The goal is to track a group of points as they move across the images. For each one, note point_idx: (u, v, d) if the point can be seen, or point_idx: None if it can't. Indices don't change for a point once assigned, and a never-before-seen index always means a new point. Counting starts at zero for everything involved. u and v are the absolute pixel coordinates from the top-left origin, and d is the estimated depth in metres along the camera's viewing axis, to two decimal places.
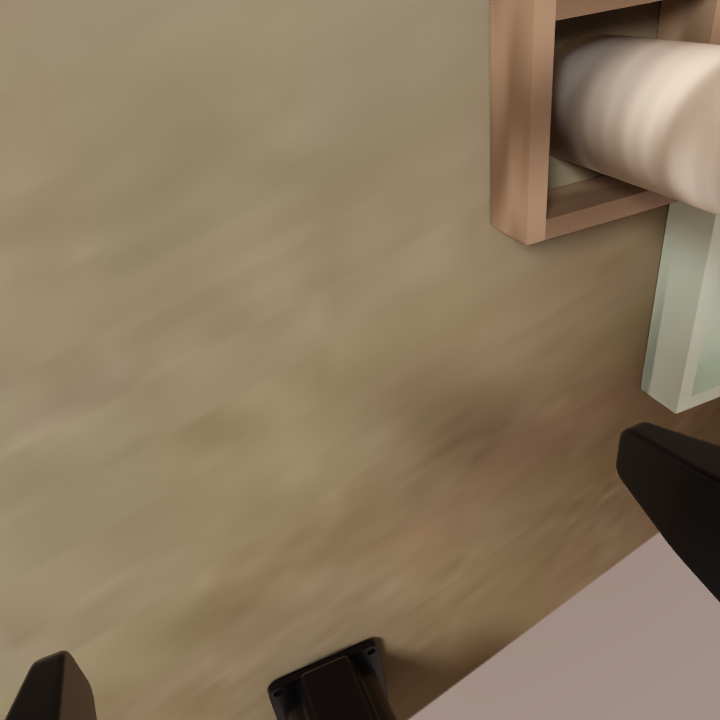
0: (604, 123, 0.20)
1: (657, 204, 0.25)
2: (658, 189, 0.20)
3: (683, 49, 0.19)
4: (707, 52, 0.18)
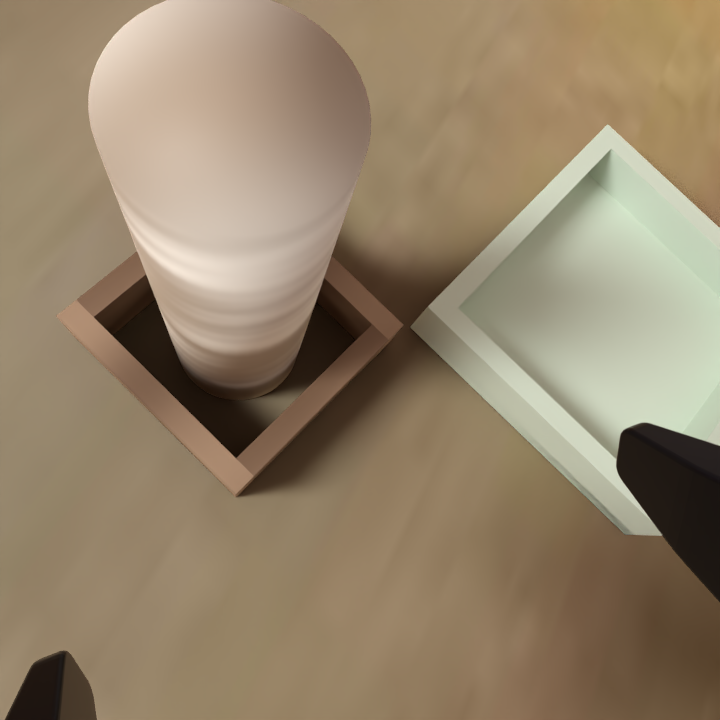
0: (179, 350, 0.19)
1: (360, 363, 0.22)
2: (235, 361, 0.17)
3: None
4: None
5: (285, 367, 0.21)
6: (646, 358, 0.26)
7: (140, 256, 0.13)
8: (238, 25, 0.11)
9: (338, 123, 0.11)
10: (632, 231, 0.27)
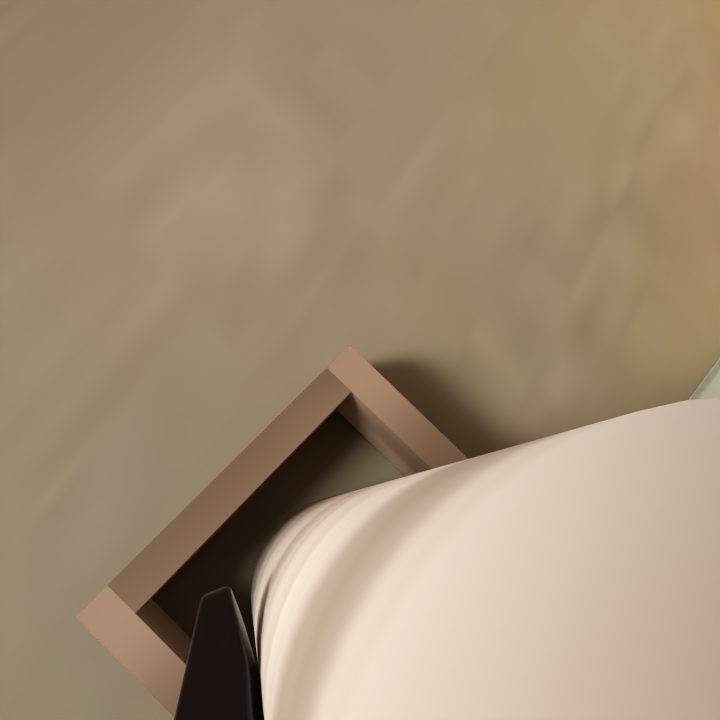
0: None
1: None
2: None
3: (275, 550, 0.11)
4: (277, 554, 0.10)
5: None
6: None
7: None
8: None
9: None
10: None
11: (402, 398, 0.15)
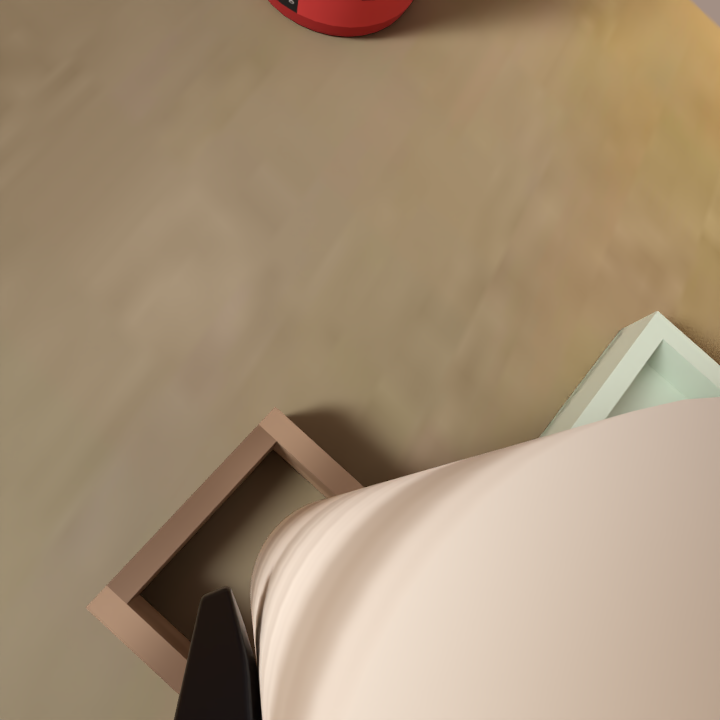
0: None
1: None
2: None
3: (274, 550, 0.11)
4: (276, 553, 0.10)
5: None
6: None
7: None
8: None
9: None
10: None
11: (314, 444, 0.21)
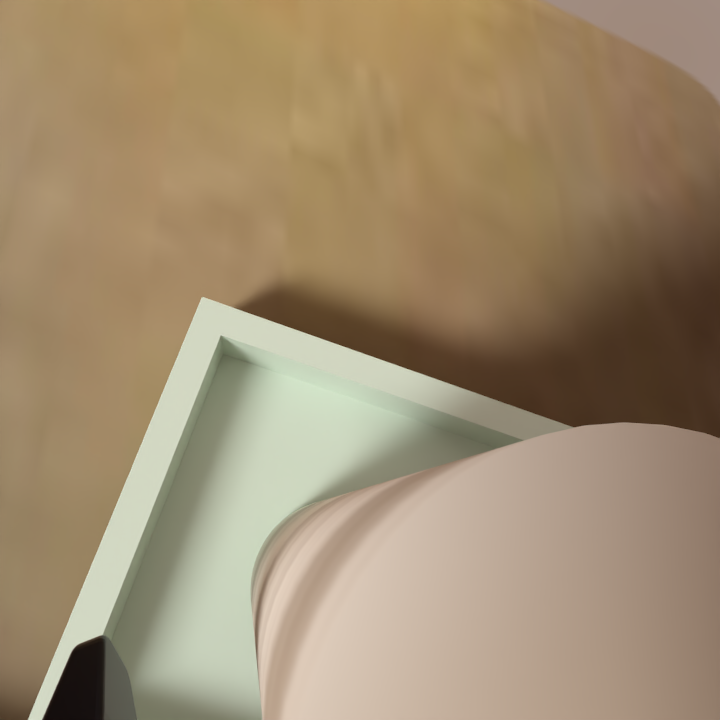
0: None
1: None
2: None
3: (272, 548, 0.12)
4: (274, 551, 0.11)
5: None
6: None
7: None
8: (642, 526, 0.04)
9: None
10: (322, 410, 0.18)
11: None
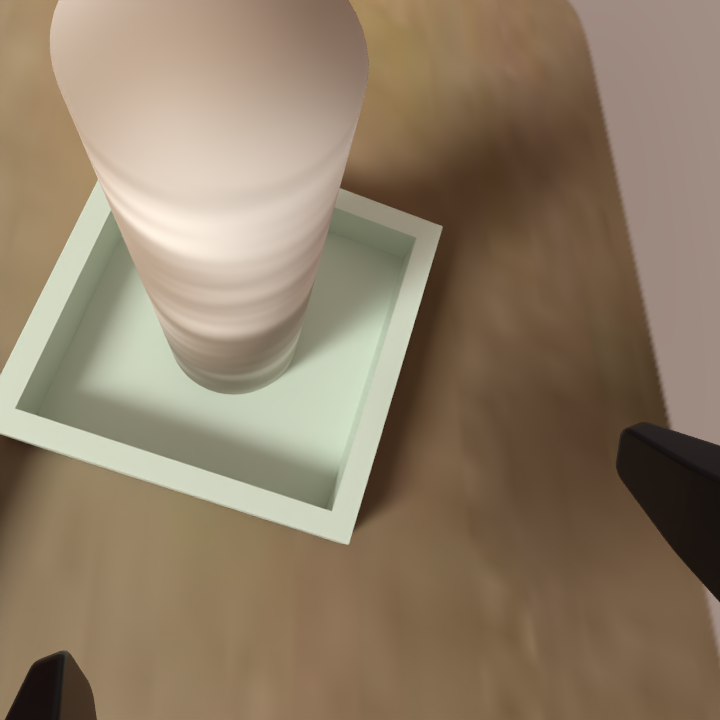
0: (169, 338, 0.18)
1: None
2: (228, 347, 0.16)
3: None
4: None
5: (283, 358, 0.20)
6: None
7: (119, 226, 0.12)
8: None
9: (332, 65, 0.09)
10: None
11: None
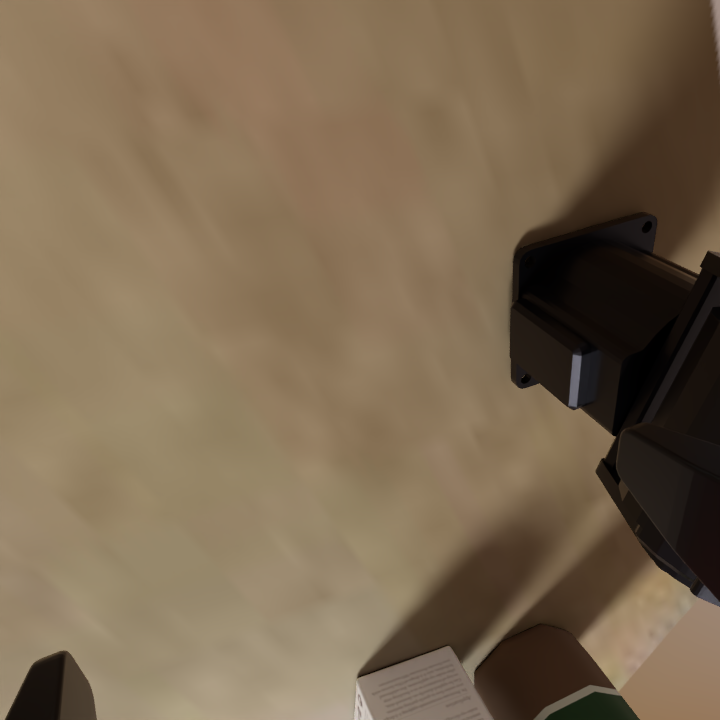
0: None
1: None
2: None
3: None
4: None
5: None
6: None
7: None
8: None
9: None
10: None
11: None
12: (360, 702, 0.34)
